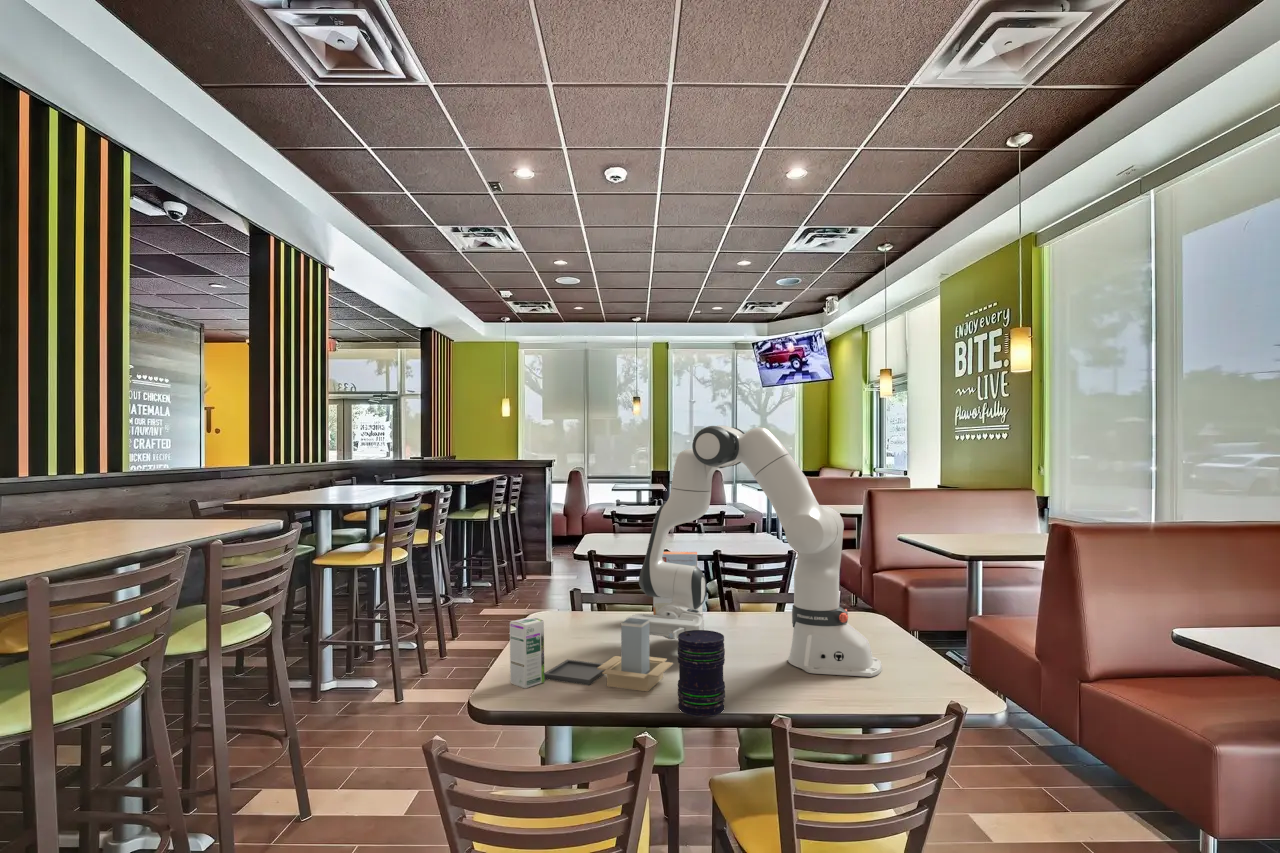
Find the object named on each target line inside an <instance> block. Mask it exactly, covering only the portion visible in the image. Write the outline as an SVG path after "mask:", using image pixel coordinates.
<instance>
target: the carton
mask: <svg viewBox="0 0 1280 853" xmlns="http://www.w3.org/2000/svg"><path fill="white" fill-rule="evenodd" d="M667 660H668V658H664V657H655V656H649V666H650V672H649V673H648V674H641V673H633V672H625V671H621V655H620V656H619V655H614V656H613V657H611V658H610V659H608V660H606V661H604V663H601V664H602V665H601V666H599V667H598V668H597V669H599V670H605V671H604V672H602V674H604V675H606V686H607V687H612V688H618V689H619V688H620V689H626V690H635V691H642V692H649V691H651V689H652V688H654V686H656V685H657V684H659V682H660V681H661V680H663V679H664V672H666V671H667V670H669V668H671V666H673V665H674V662H670V661H667Z"/></svg>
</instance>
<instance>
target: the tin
mask: <svg viewBox="0 0 1280 853" xmlns="http://www.w3.org/2000/svg"><path fill="white" fill-rule="evenodd" d="M627 618H628V617H627ZM649 622H650V620H647V619H637V618H628V619H627V620H626V619H625V620H623V621H622V622H620V626H621V630H620V632H621V634H620V636H621V640H620V642H621V643H620V644H621V646H620V649H621V650H620V651H621V652H620V653H621V654H620V657H621V671H625V672H633V673H641V674H648V673H649V672H650V666H649V657H650V635H649Z"/></svg>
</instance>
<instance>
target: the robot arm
mask: <svg viewBox="0 0 1280 853" xmlns="http://www.w3.org/2000/svg"><path fill="white" fill-rule="evenodd" d="M741 463H742V464H743V465H744V466H746V468H747V469H748V470H749V472H750V473H751V475H752V477H753V478H754V479H755V481H756V482H757V484H758V486H759V487H760V489H761V490H762V491H763V493H764V494H765V496H766V497H767V499H768V500H769V502H770V504H771V506H772V507H773V509H774V512H775V515H776V516H777V519H778V520H779V523H780V525H781V526H782V529H783V531H784V534H785V539H786V541H787V544H788V545H789V547H791V548H792V550H794V551H796V552H797V560H796V564H795V566H796V567H795V569H794V573H793V600H794V601H793V605H792V609H791V624H792V628H793V632H792V639H791V647H790V650H789V655H788V658H787V661H788V663H789V664H790V665H792V666H794V667H797V668H798V669H802V670H803V671H805V672H806V673H809V674H817V675H832V676H833V675H834V676H835V675H837V676H851V677H852V676H855V677H869V678H870V677H875V676H877V675H879V674H880V673H881V671H882V669H883V667H882V662H881V660H880V659H879V658H877V657H875V656H873V653H872V647H871V644H870V642H869V640H868V638H867V637H865V635H864V634H862V633H861V632H859V630H858V629H856V628H854V626H852V625H851V624H850V623H848V622H849V615H848V614H849V613H848V610H847V609H848V608H845V609H844V608H843V607H841V606H840V568H841V561H842V552H843V539H844V538H843V536H844V528H845V523H844V520H843V517H842V516H841V514H840V513H839V512H838V511H836V509H834V508H832V507H831V506H827V505H821V504H819V502H818V501H817V498H816V496H815V495H814V492H813V490H812V488H811V486H810V483H809V480H808V478H807V476H806V475H805V473H804V472H803V471H802V470H801V468H800V467H799V465H798V464H797V462H796V461H795V460H794V457H792V455H791V454H790V453H789V451H788V449H786V448H785V446H784V444H783V443H782V442H781V441H780V440H779V439H778V438H777V437H776V435H774V434H773V433H772V432H771V431H770V430H769V429H767V428H766V427H759V426H758V427H753V428H752V429H750V430H748V431H746V432H744V431H743V430H741V429H739V428H737V427H733V426H727V425H708V426H706V427H704V428H701V429H700V430H699V431H698V432H697V433H696V434H695V436H694V438H693V440H692V448H687V449H683V450H681V451H680V452H679V453H678V455H676V460H675V463H674V468H673V471H672V478H671V488H670V493H669V496H668V499H667V501H666V502H665V503H664V504H661V505H660V506H659V508H658V510H657V511H656V514H655V517H654V521H653V525H652V528H651V532H650V535H649V536H650V537H649V540H648V544H647V545H648V546H647V548H646V553H645V557H644V561H643V563H642V567H641V569H640V573H639V575H638V576H639V577H638V585H639V587H640V589H641V590H642V592H643V593H644V594H645V595H646V596H647V597H651V598H653V597H665V598H671V599H673V601H672V602H671V603H669V604H667V605H665V606H664V607H662V608H661V609H659V611H658V612H657V614H656V615H653V614H650V613H637V614H636V613H635V614H632V615H630V616H628V617H626V618H625V620H627V619H628V618H637V619H647V620H650V622H649V636H656V637H657V636H658V637H659V636H660V637H663V638H665V639H669V640H676V639H678V635H679V634H680V633H682V632H685V631H691V630H704V629H705V628H704V627H705V620H704V613H703V604H704V602H705V600H706V596H707V588H708V587H707V586H708V584H707V579H706V576H705V574H704V573H703V571H702V569H700V567H699V566H697V567H695V566H689V565H683V564H682V565H681V564H674V563H668V562H664V561H663V559H662V556H663V552H665V547H666V543H667V539H668V535H669V532H670V531H671V530H672V529H673V528H675V527H676V526H679V525H682V524H686V523H690V522H693V521H695V520H698V519H700V518H701V517H703V516H704V515H705V514H706V513H707V511H708V510H709V509H710V504H711V499H712V488H713V487H712V484H713V482H712V481H713V475H714V473H715V472H716V470H717V469H723V468H727V467H734V466H737V465H739V464H741Z"/></svg>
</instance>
